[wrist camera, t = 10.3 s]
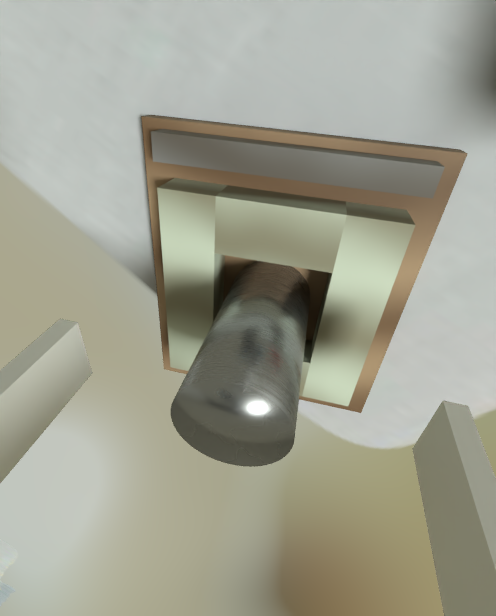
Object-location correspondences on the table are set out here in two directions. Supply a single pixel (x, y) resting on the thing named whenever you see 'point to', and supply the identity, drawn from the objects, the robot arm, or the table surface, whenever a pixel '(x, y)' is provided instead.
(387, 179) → the jig
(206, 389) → the brushed metal cylinder
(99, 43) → the table surface
